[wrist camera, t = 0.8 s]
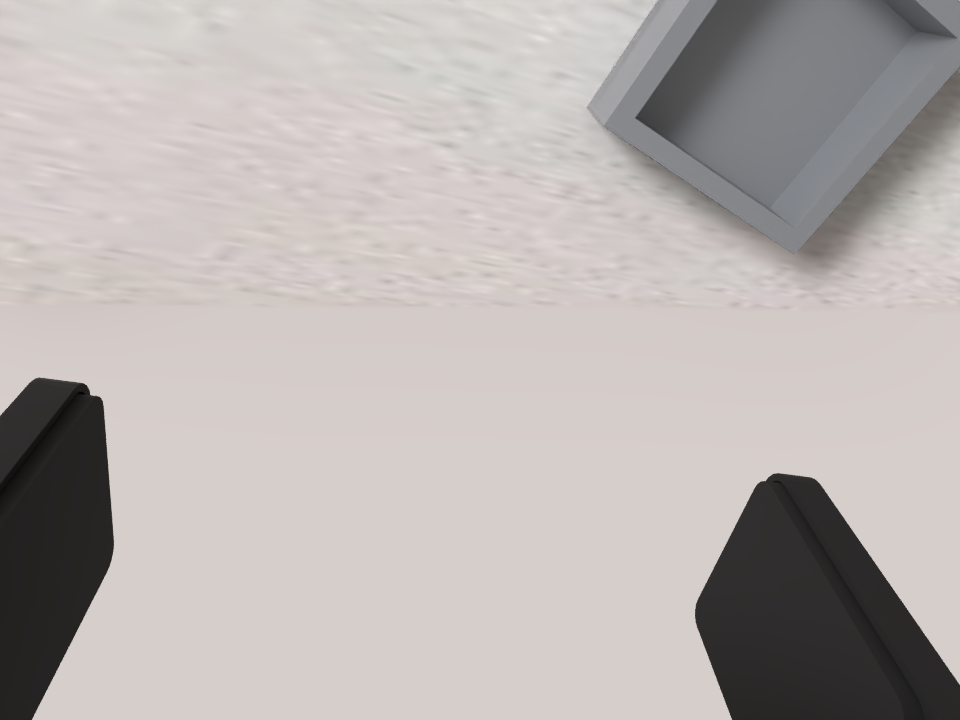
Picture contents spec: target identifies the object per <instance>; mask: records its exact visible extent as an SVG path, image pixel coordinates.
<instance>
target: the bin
mask: <svg viewBox="0 0 960 720" xmlns="http://www.w3.org/2000/svg"><path fill="white" fill-rule="evenodd" d="M959 66H960V1H959V0H658V2H657V3H656V5H655V6H654V8H653V9H652V11H651V12H650V14H649V15H648V17H647V18H646V20H645V21H644V23H643V24H642V26H641V27H640V29H639V30H638V32H637V33H636V35H635V36H634V38H633V39H632V41H631V42H630V44H629V45H628V47H627V48H626V50H625V51H624V53H623V54H622V56H621V57H620V59H619V60H618V62H617V63H616V65H615V66H614V68H613V69H612V71H611V72H610V74H609V75H608V77H607V78H606V80H605V81H604V83H603V84H602V86H601V87H600V89H599V90H598V92H597V93H596V95H595V96H594V98H593V99H592V101H591V103H590V104H589V106H588V107H587V108H588V109H589V111H590V112H591V113H592V114H593V115H594V116H595V117H596V118H597V119H598V120H599V121H600V122H601V124H602V125H603V126H604V127H606V128H607V129H609V130H610V131H612V132H613V133H615V134H616V135H618V136H619V137H621V138H622V139H624V140H625V141H627V142H628V143H630V144H631V145H633V146H634V147H636V148H637V149H639V150H640V151H642V152H643V153H645V154H646V155H648V156H649V157H651V158H652V159H653V160H655V161H656V162H658V163H659V164H661V165H662V166H664V167H665V168H667V169H668V170H670V171H671V172H673V173H674V174H676V175H677V176H679V177H680V178H682V179H683V180H685V181H686V182H688V183H689V184H691V185H692V186H694V187H695V188H697V189H698V190H699V191H701V192H702V193H704V194H705V195H707V196H708V197H710V198H711V199H713V200H714V201H716V202H717V203H719V204H720V205H722V206H723V207H725V208H726V209H728V210H729V211H731V212H732V213H734V214H735V215H737V216H738V217H740V218H741V219H743V220H744V221H746V222H747V223H748V224H750V225H751V226H753V227H754V228H756V229H757V230H759V231H760V232H762V233H763V234H765V235H766V236H768V237H769V238H771V239H772V240H774V241H775V242H777V243H778V244H780V245H781V246H783V247H784V248H786V249H787V250H789V251H790V252H792V253H793V254H794V255H795V254H796V253H797V251H798V250H799V249H800V248H801V247H802V246H803V245H804V243H805V242H806V241H807V240H808V239H809V238H810V237H811V235H812V234H813V233H814V232H815V231H816V230H817V229H818V227H819V226H820V225H821V224H822V223H823V222H824V221H825V219H826V218H827V217H828V216H829V215H830V214H831V213H832V211H833V210H834V209H835V208H836V207H837V206H838V205H839V203H840V202H841V201H842V200H843V199H844V198H845V197H846V196H847V194H848V193H849V192H850V191H851V190H852V189H853V188H854V186H855V185H856V184H857V183H858V182H859V181H860V180H861V178H862V177H863V176H864V175H865V174H866V173H867V172H868V170H869V169H870V168H871V167H872V166H873V165H874V164H875V162H876V161H877V160H878V159H879V158H880V157H881V156H882V154H883V153H884V152H885V151H886V150H887V149H888V148H889V146H890V145H891V144H892V143H893V142H894V141H895V140H896V138H897V137H898V136H899V135H900V134H901V133H902V132H903V130H904V129H905V128H906V127H907V126H908V125H909V124H910V122H911V121H912V120H913V119H914V118H915V117H916V116H917V114H918V113H919V112H920V111H921V110H922V109H923V108H924V106H925V105H926V104H927V103H928V102H929V101H930V100H931V98H932V97H933V96H934V95H935V94H936V93H937V92H938V90H939V89H940V88H941V87H942V86H943V85H944V84H945V82H946V81H947V80H948V79H949V78H950V77H951V76H952V74H953V73H954V72H955V71H956V70H957V69H958V68H959Z"/></svg>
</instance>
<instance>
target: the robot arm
mask: <svg viewBox="0 0 960 720" xmlns="http://www.w3.org/2000/svg"><path fill="white" fill-rule="evenodd" d="M106 446H107V445H106V432H105V420H104V406H103V401H102V399H101V398H100V397H98V396H91V395H90V391H89V389H88V387H87V385H85V384H83V383H77V382H69V381H61V380H53V379H46V378H36V379H34V380H33V381H32V382H30V383H29V384H28V385H27V387H26V388H25V389H24V390H23V391H22V392H21V393H20V394H19V396H18V397H17V398H16V399H15V400H14V401H13V402H12V403H11V404H10V406H9V407H8V408H7V409H6V410H5V411H4V412H3V413H2V415H1V416H0V720H32V718H33V716H34V714H35V712H36V710H37V708H38V706H39V704H40V702H41V700H42V699H43V696H44V695H45V693H46V691H47V689H48V687H49V685H50V683H51V681H52V679H53V677H54V675H55V673H56V671H57V669H58V667H59V665H60V663H61V661H62V659H63V657H64V655H65V653H66V651H67V649H68V647H69V646H70V644H71V642H72V640H73V638H74V636H75V634H76V632H77V630H78V628H79V626H80V624H81V622H82V620H83V618H84V616H85V614H86V612H87V610H88V608H89V606H90V604H91V602H92V600H93V598H94V596H95V594H96V593H97V590H98V588H99V587H100V585H101V583H102V581H103V579H104V577H105V575H106V573H107V571H108V568H109V566H110V563H111V560H112V555H113V549H114V539H113V524H112V511H111V498H110V485H109V472H108V459H107V447H106ZM695 619H696V624H697V628H698V630H699V633H700V636H701V638H702V641H703V644H704V646H705V649H706V651H707V654H708V656H709V660H710V662H711V665H712V668H713V670H714V673H715V675H716V678H717V681H718V683H719V686H720V689H721V691H722V694H723V697H724V699H725V702H726V705H727V707H728V710H729V713H730V715H731V718H732V720H960V685H959V683H958V682H957V680H956V679H955V678H954V676H953V675H952V673H951V672H950V671H949V669H948V667H947V666H946V665H945V663H944V662H943V660H942V659H941V657H940V656H939V655H938V653H937V652H936V650H935V649H934V647H933V646H932V644H931V643H930V642H929V640H928V639H927V637H926V636H925V634H924V633H923V632H922V630H921V629H920V627H919V626H918V624H917V623H916V621H915V620H914V619H913V617H912V616H911V614H910V613H909V611H908V610H907V608H906V607H905V606H904V604H903V603H902V601H901V600H900V599H899V597H898V596H897V594H896V593H895V591H894V590H893V588H892V587H891V586H890V584H889V583H888V581H887V580H886V578H885V577H884V575H883V574H882V572H881V571H880V570H879V568H878V567H877V565H876V564H875V562H874V561H873V560H872V558H871V557H870V555H869V554H868V552H867V551H866V549H865V548H864V547H863V545H862V544H861V542H860V541H859V539H858V538H857V537H856V535H855V534H854V532H853V531H852V529H851V528H850V526H849V525H848V524H847V522H846V521H845V519H844V518H843V516H842V515H841V514H840V512H839V511H838V509H837V508H836V506H835V505H834V503H833V502H832V501H831V499H830V498H829V496H828V495H827V493H826V492H825V490H824V489H823V488H822V486H821V485H820V484H819V483H818V482H817V481H816V480H815V479H813V478H810V477H803V476H795V475H787V474H779V473H777V474H773V475H771V476H770V477H768V479H767V480H766V481H763V482H760V483H758V484H757V486H756V487H755V489H754V491H753V493H752V495H751V496H750V498H749V500H748V502H747V504H746V506H745V508H744V510H743V512H742V514H741V516H740V518H739V520H738V522H737V524H736V526H735V528H734V530H733V532H732V534H731V536H730V538H729V540H728V542H727V544H726V546H725V547H724V550H723V551H722V553H721V555H720V557H719V559H718V561H717V563H716V565H715V567H714V569H713V571H712V573H711V575H710V577H709V579H708V581H707V583H706V585H705V587H704V589H703V591H702V593H701V595H700V597H699V598H698V601H697V603H696V609H695Z"/></svg>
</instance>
